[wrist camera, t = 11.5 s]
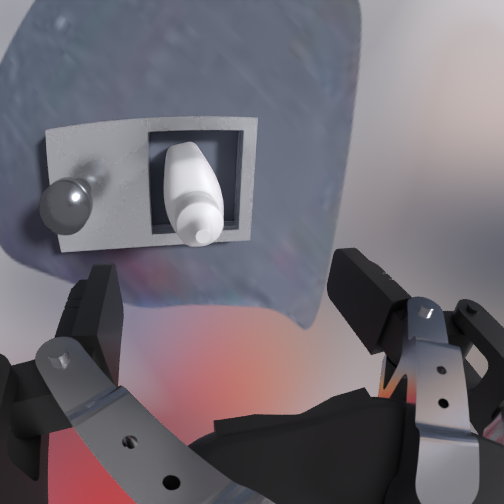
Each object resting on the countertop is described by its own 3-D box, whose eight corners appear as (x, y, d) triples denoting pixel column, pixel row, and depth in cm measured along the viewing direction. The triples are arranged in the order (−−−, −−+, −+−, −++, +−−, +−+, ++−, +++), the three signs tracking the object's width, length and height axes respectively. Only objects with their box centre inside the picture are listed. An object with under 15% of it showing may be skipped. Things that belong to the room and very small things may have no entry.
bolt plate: (54, 127, 19) (21, 137, 14) (251, 116, 23) (276, 121, 18) (67, 242, 24) (46, 279, 18) (244, 230, 28) (264, 264, 22)
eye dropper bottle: (151, 201, 24) (143, 279, 14) (171, 135, 22) (174, 164, 12) (201, 213, 26) (228, 295, 16) (223, 151, 24) (269, 192, 14)
